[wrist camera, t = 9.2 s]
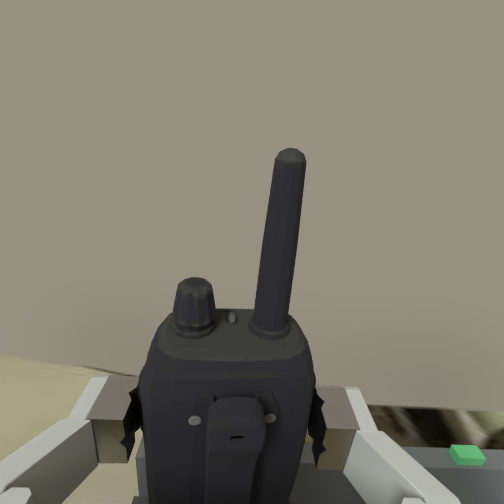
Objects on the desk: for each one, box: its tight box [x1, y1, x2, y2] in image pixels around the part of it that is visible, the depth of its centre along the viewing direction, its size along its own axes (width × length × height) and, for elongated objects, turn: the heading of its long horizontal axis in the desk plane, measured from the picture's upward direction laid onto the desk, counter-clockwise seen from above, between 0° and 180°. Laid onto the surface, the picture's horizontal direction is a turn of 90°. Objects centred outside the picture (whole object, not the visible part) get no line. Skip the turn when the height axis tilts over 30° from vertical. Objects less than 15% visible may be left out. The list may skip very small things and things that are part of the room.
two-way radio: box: [138, 148, 316, 504], centre depth 9 cm, size 6×4×15 cm
